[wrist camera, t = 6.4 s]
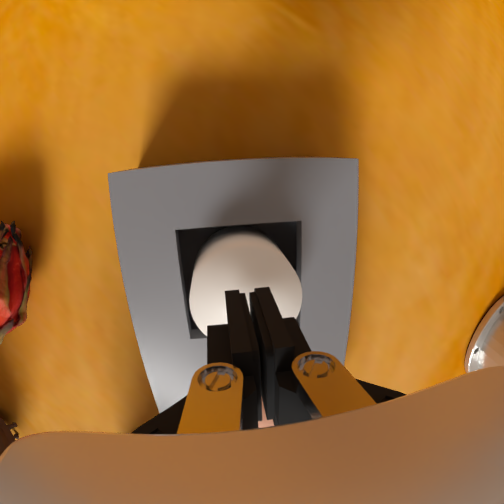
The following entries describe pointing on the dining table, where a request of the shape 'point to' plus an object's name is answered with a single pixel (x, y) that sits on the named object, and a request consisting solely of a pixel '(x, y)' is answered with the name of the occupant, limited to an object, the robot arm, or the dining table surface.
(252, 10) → the dining table surface
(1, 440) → the alarm clock
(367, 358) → the dining table surface
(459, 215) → the dining table surface
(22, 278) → the dragon fruit
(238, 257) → the white rounded piece
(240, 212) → the grey rectangular block
